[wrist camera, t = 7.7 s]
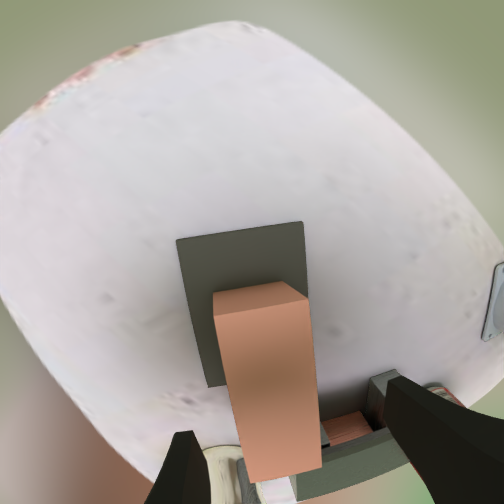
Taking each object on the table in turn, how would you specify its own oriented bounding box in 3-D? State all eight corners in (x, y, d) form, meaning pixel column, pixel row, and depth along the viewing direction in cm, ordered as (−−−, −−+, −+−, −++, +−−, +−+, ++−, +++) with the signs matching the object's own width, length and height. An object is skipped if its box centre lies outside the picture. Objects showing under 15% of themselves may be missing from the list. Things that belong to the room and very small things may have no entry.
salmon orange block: (282, 280, 18) (308, 299, 13) (299, 422, 19) (322, 467, 14) (212, 292, 17) (213, 316, 12) (241, 434, 18) (250, 483, 13)
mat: (301, 221, 18) (303, 222, 17) (308, 365, 20) (310, 368, 20) (176, 239, 17) (175, 241, 16) (207, 383, 20) (208, 387, 19)
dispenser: (395, 369, 22) (434, 412, 16) (383, 423, 24) (412, 465, 18) (276, 402, 21) (297, 462, 15) (281, 454, 23) (298, 506, 17)
